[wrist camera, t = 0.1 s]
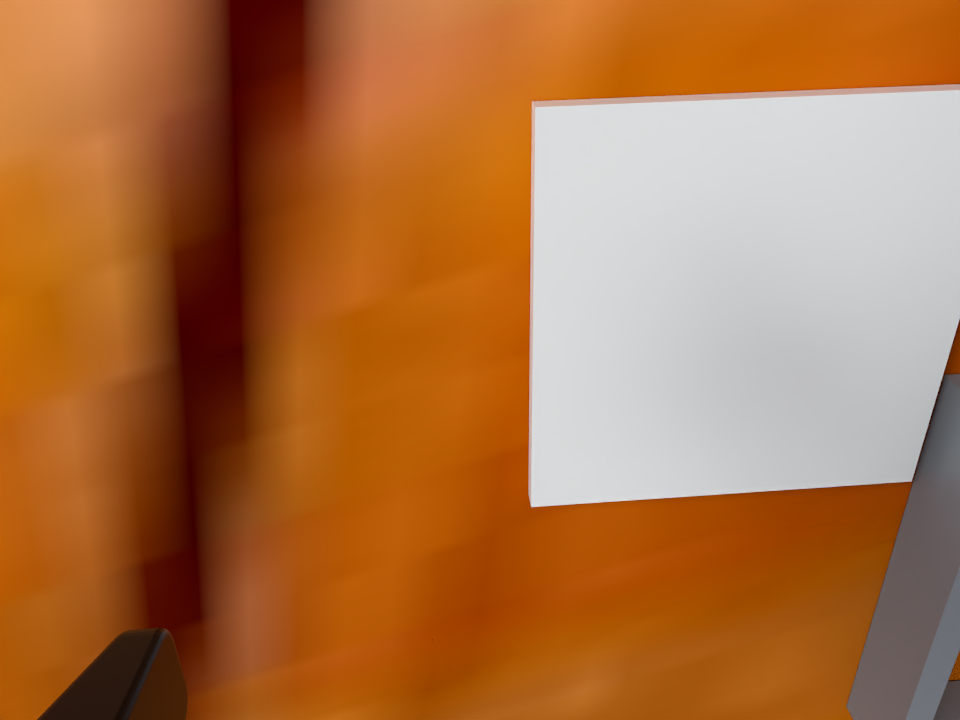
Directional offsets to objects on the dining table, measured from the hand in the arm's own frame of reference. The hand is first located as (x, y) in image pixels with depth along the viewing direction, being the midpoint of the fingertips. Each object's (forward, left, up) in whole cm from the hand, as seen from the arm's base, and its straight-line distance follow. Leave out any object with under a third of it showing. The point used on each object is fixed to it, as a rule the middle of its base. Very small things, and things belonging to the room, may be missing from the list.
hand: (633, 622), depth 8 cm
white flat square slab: (-4, -7, -15) cm, 17 cm away
